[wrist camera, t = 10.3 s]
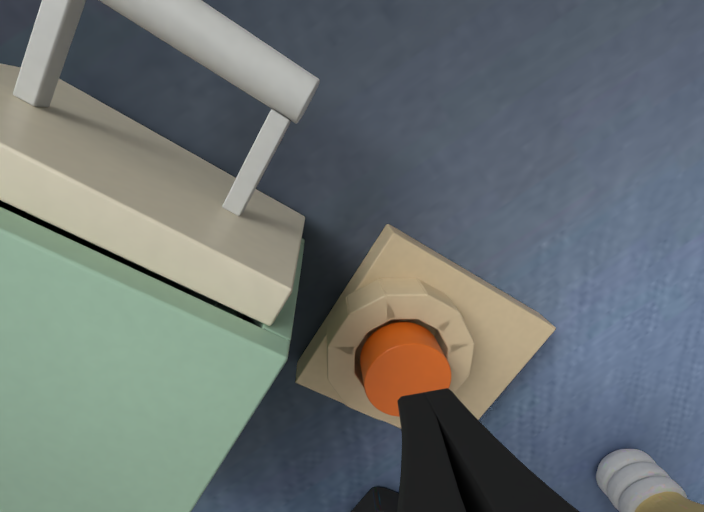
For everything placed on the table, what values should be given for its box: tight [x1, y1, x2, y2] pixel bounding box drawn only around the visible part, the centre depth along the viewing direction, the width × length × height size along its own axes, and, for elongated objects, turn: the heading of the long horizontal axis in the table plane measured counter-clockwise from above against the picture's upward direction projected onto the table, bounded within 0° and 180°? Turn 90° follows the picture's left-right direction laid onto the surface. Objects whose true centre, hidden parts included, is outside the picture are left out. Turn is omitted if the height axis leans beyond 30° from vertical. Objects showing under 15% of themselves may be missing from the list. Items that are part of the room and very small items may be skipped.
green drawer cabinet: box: [0, 207, 305, 512], centre depth 13 cm, size 15×12×10 cm
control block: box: [295, 224, 556, 428], centre depth 18 cm, size 10×9×4 cm
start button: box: [360, 322, 451, 417], centre depth 16 cm, size 4×4×2 cm
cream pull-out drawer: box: [0, 0, 320, 326], centre depth 12 cm, size 18×11×8 cm, turn 149°
